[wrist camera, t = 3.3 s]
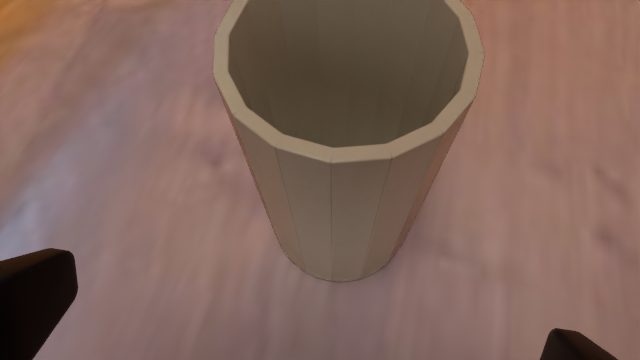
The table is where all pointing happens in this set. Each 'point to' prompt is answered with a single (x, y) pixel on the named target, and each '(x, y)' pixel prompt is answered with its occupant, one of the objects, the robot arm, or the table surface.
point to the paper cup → (345, 117)
